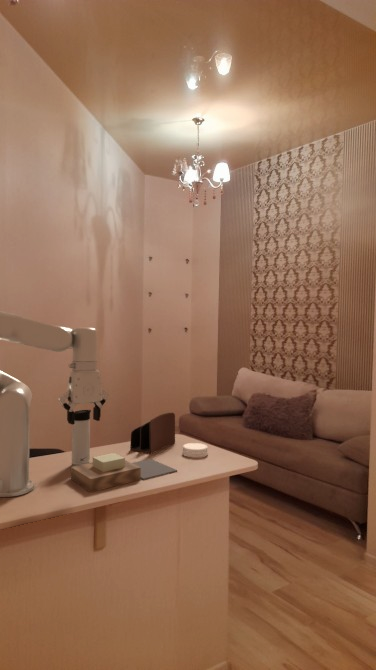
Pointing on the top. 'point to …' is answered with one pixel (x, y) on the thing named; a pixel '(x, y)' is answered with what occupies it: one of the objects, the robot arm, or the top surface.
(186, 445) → the white short cylinder
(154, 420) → the letter holder
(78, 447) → the travel mug
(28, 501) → the top surface
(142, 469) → the mat
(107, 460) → the tile
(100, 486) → the riser
